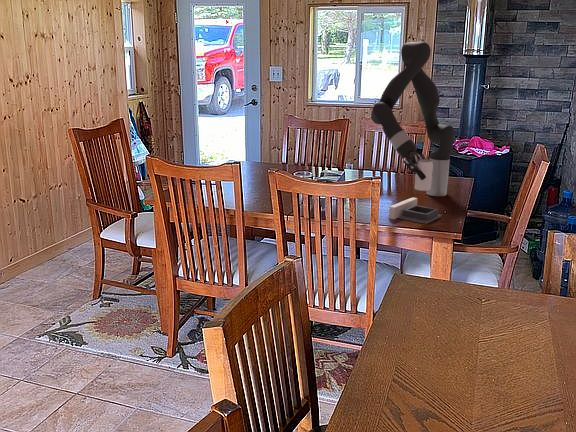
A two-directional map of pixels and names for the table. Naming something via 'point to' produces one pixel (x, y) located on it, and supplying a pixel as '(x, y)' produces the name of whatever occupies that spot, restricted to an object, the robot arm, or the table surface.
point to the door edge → (401, 207)
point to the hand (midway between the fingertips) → (427, 177)
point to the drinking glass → (321, 198)
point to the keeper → (420, 214)
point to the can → (427, 169)
